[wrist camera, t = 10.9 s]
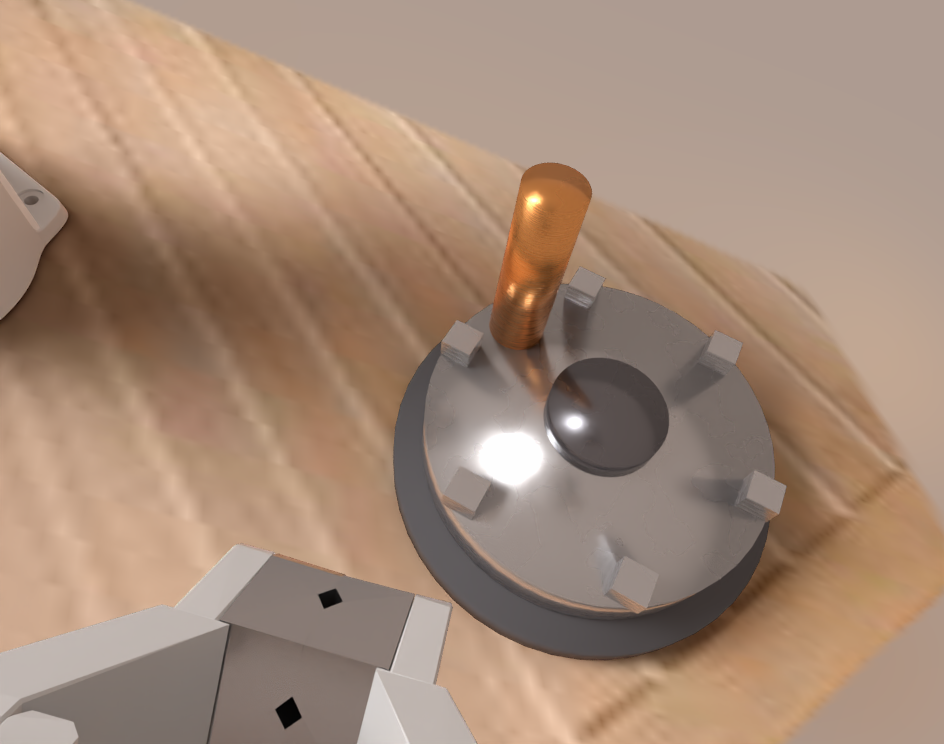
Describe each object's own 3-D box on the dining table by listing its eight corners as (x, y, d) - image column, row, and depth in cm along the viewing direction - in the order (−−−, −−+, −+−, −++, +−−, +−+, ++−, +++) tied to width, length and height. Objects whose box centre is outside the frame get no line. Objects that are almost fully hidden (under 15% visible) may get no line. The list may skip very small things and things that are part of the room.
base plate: (318, 431, 36) (315, 417, 34) (574, 267, 44) (580, 249, 43) (579, 763, 29) (590, 763, 27) (824, 491, 37) (842, 479, 36)
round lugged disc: (512, 271, 41) (557, 90, 30) (779, 399, 38) (939, 251, 27) (355, 502, 32) (335, 365, 21) (690, 695, 29) (876, 656, 18)
